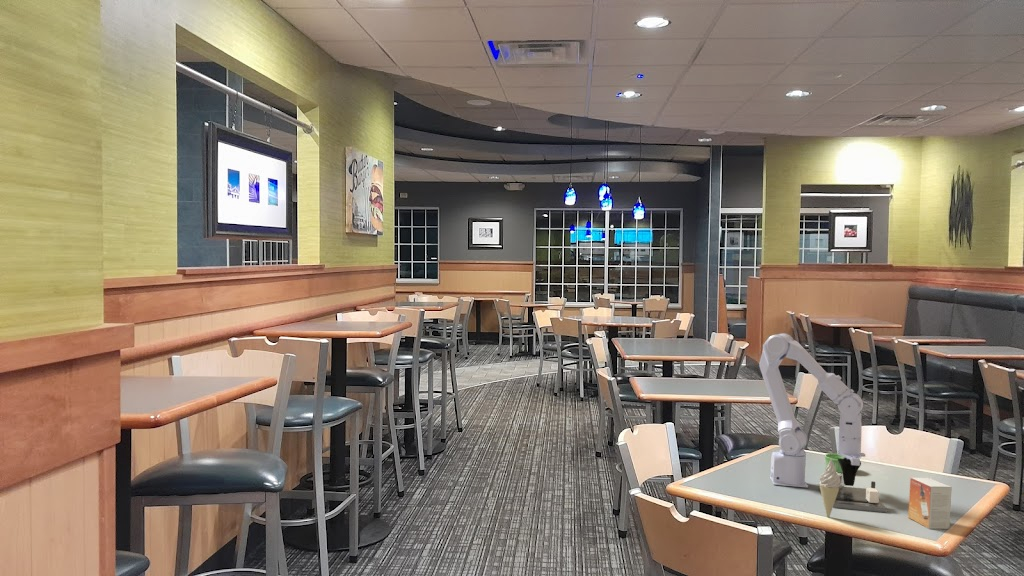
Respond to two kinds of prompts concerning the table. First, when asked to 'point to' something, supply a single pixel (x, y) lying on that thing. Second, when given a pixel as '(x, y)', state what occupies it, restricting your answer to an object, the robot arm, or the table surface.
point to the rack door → (841, 480)
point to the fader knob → (872, 495)
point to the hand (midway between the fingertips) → (848, 485)
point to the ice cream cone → (829, 486)
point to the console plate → (856, 500)
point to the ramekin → (834, 461)
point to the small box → (930, 503)
